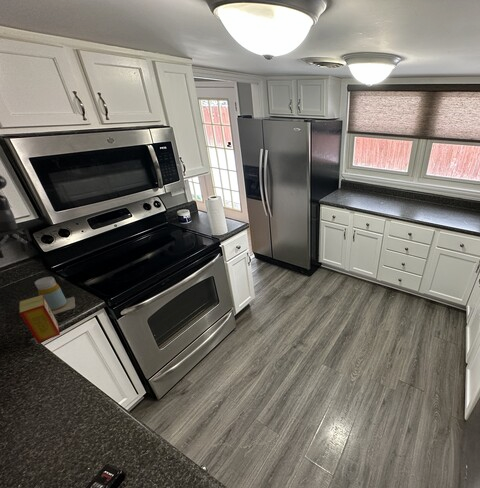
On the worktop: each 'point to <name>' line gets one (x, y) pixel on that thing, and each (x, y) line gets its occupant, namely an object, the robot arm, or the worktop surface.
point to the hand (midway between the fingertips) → (13, 254)
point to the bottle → (51, 293)
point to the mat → (68, 306)
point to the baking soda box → (39, 318)
